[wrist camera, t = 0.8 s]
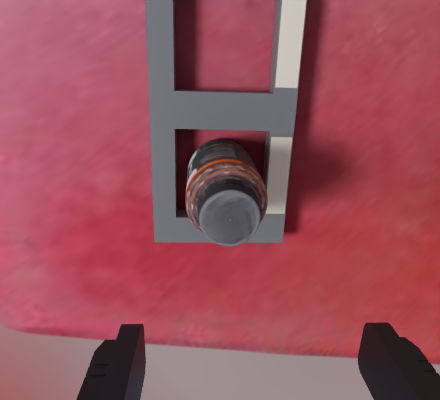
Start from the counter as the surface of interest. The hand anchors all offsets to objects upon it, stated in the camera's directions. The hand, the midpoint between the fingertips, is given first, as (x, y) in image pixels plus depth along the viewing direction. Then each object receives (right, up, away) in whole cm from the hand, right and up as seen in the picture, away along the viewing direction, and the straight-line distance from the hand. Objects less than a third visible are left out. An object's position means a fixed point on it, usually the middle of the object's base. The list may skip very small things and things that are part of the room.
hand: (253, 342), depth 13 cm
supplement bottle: (-1, +8, +21) cm, 22 cm away
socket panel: (-1, +13, +18) cm, 23 cm away
